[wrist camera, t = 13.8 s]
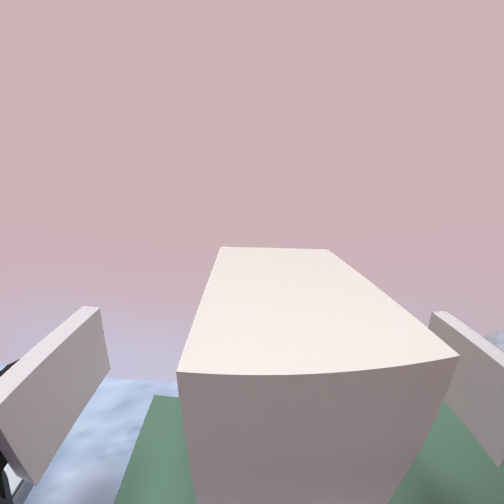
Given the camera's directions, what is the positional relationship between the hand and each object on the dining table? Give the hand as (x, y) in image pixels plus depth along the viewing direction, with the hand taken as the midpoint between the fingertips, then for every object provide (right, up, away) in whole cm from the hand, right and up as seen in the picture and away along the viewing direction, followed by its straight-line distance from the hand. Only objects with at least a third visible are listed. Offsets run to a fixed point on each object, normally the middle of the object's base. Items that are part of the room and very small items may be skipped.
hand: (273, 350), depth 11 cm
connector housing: (0, -7, +1) cm, 7 cm away
